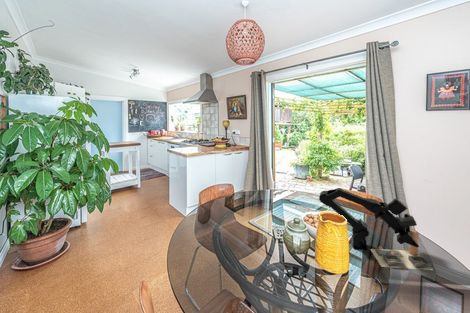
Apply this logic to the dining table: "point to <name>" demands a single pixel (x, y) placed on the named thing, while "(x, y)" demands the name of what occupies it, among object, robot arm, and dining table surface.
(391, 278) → the dining table surface
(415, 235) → the terracotta pin
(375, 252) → the pin board
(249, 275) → the dining table surface
